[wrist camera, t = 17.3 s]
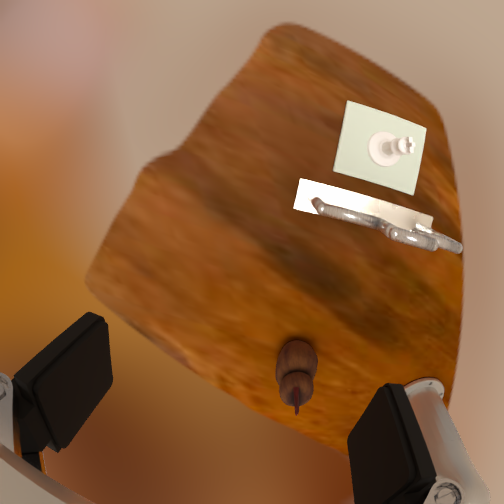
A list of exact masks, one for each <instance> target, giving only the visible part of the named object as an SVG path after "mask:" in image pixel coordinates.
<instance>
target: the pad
mask: <svg viewBox="0 0 504 504" xmlns="http://www.w3.org/2000/svg"><path fill="white" fill-rule="evenodd" d="M379 131H386V132H389V133H391V134H393V135H394V136H395V137H396V138H402V137H412V139H413V142H415V145H416V147H414V153H411V154H409V155H405V154H403V155H401V156H400V159H399V160H398V162H397V163H396V164H394V165H392V166H390V167H380V166H378V165H376V164H375V163H374V162H372V160H371V159H370V158H369V156H368V153H367V142H368V140H369V138H370V136H371V135H372V134H374V133H376V132H379ZM425 135H426V128H424V127H422V126H420V125H417V124H415V123H412V122H410V121H407V120H404V119H402V118H399V117H397V116H394V115H391V114H388V113H385V112H383V111H380V110H377V109H374V108H371V107H368V106H364V105H361V104H358V103H355V102H351V101H347V102H346V107H345V113H344V118H343V123H342V128H341V133H340V138H339V143H338V148H337V153H336V157H335V162H334V166H333V171H334V172H338V173H342V174H345V175H349V176H352V177H356V178H359V179H363V180H366V181H370V182H373V183H376V184H379V185H383V186H386V187H389V188H392V189H395V190H398V191H401V192H404V193H407V194H410V195H413V194H414V190H415V186H416V182H417V177H418V172H419V168H420V163H421V157H422V152H423V147H424V141H425Z"/></svg>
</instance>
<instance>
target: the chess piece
mask: <svg viewBox="0 0 504 504" xmlns="http://www.w3.org/2000/svg"><path fill="white" fill-rule="evenodd" d="M414 147H416V145H415V142H413V139H412V137H402V138H396V137H395V136H394V135H393V134H391V133H389V132H386V131H379V132H376V133H374V134H372V135H371V136H370V138H369V140H368V142H367V153H368V156H369V158H370V159H371V160H372V162H374V163H375V164H376V165H378V166H380V167H390V166H392V165H394V164H396V163H397V162H398V160H399V159H400V156H401V155H403V154H405V155H409V154H411V153H414Z"/></svg>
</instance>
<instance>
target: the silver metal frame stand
mask: <svg viewBox="0 0 504 504" xmlns="http://www.w3.org/2000/svg"><path fill="white" fill-rule="evenodd" d="M294 209H298V210H303V211H307V212H311V213H315V214H319V215H323V216H327V217H331V218H335V219H339V220H343V221H346V222H350V223H354V224H358V225H362V226H365V227H369V228H373V229H376V230H379V231H380V232H382V233H383V234H384V235H386V236H387V237H388V238H390V239H391V240H393V241H397V242H400V243H404V244H407V245H411V246H414V247H418V248H421V249H425V250H428V251H435V250H436V249H437V248H441V249H444V250H447V251H450V252H454V253H457V254H459V253H461V251H462V249H463V247H462V245H461V244H460V243H459V242H457V241H455V240H453V239H451V238H449V237H447V236H445V235H443V234H441V233H439V232H437V231H435V230H433V229H431V224H432V221H433V217H432V216H429V215H426V214H423V213H420V212H417V211H414V210H411V209H408V208H405V207H402V206H399V205H396V204H393V203H389V202H386V201H383V200H380V199H376V198H373V197H369V196H366V195H362V194H359V193H355V192H352V191H348V190H344V189H341V188H337V187H333V186H329V185H325V184H322V183H318V182H314V181H309V180H305V179H301V178H300V181H299V186H298V190H297V194H296V199H295V203H294Z"/></svg>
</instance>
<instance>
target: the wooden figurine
mask: <svg viewBox="0 0 504 504" xmlns="http://www.w3.org/2000/svg"><path fill="white" fill-rule="evenodd" d="M317 363H318V359H317V355H316V353H315V352H314V350H313V348H312V347H311V346H310V345H309V344H307V343H305V342H304V341H300V340H295V341H291V342H288V343H287V344H286V345H285V346H284V347H283V348H282V350H281V352H280V354H279V357H278V360H277V364H276V380H277V382H278V384H279V385H280V388H279V393H280V397H281V399H282V401H283V402H284V403H285V404H287V405H289V406H295V414H296V415H297V414H298V412H299V406H301V405H304V404H305V403H307V402H308V401H309V400H310V399H311V397H312V394H313V379H314V376H315V373H316V370H317Z"/></svg>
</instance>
